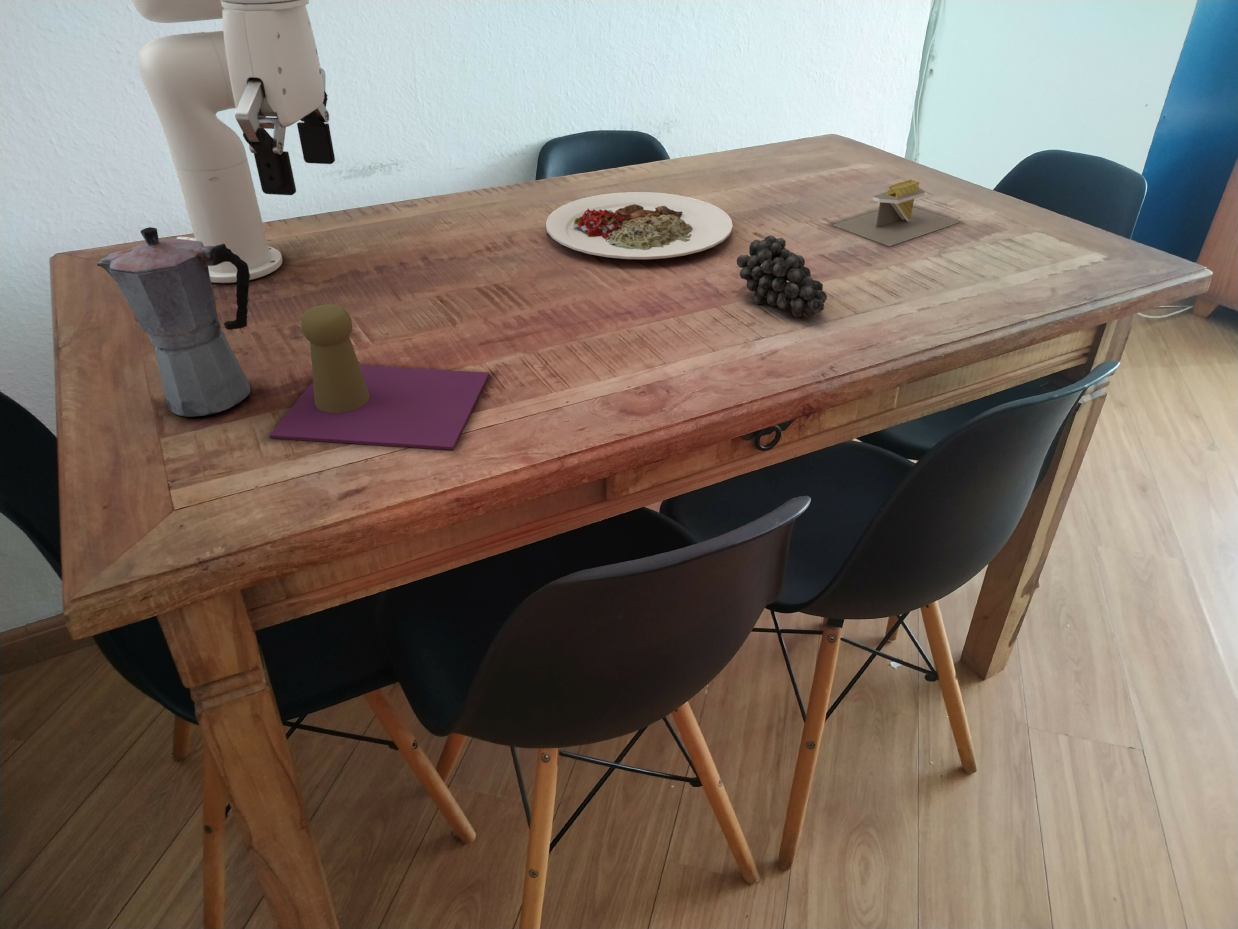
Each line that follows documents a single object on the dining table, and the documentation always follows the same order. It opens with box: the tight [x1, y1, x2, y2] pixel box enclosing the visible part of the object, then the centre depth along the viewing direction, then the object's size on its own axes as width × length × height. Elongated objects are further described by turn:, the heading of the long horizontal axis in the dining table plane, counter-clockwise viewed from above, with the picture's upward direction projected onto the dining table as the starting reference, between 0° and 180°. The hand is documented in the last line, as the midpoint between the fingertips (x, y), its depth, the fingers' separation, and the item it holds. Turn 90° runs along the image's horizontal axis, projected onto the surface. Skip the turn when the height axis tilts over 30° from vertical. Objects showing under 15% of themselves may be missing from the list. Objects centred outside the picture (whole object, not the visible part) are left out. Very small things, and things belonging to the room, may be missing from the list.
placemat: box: [269, 364, 490, 451], centre depth 100 cm, size 20×16×1 cm
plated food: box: [545, 191, 733, 261], centre depth 143 cm, size 30×30×3 cm
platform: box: [832, 178, 960, 247], centre depth 146 cm, size 12×18×7 cm, turn 127°
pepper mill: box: [300, 303, 370, 413], centre depth 97 cm, size 6×6×11 cm
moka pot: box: [96, 226, 251, 418], centre depth 96 cm, size 10×15×20 cm, turn 95°
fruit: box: [736, 235, 828, 319], centre depth 119 cm, size 9×8×15 cm
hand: (300, 177), depth 89 cm, fingers open, 9 cm apart
